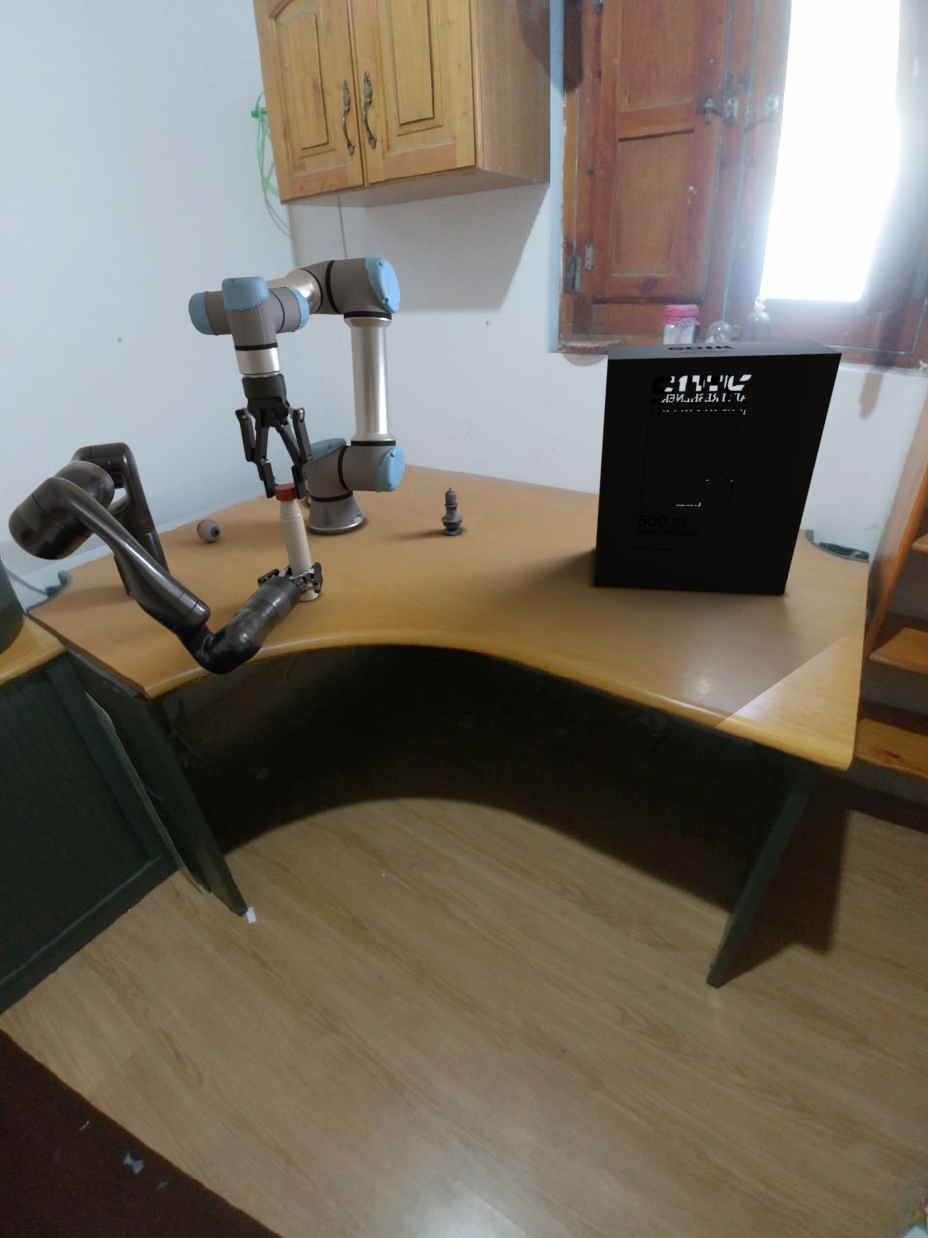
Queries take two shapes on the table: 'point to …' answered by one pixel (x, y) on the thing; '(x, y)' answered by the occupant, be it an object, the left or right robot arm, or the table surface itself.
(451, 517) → the salt shaker
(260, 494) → the table surface
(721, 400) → the cardboard box
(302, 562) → the bottle
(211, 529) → the eyeball
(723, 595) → the table surface
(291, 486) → the cap
